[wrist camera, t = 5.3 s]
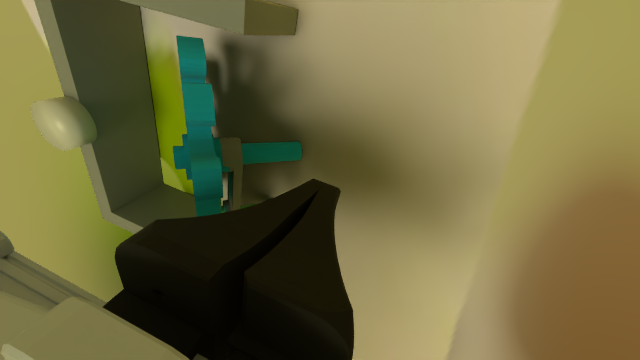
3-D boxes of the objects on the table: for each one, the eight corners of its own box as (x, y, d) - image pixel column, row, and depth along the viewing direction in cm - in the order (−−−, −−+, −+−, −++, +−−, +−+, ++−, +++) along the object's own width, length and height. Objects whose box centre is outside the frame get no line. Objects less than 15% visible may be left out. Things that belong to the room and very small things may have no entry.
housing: (267, 238, 19) (219, 298, 15) (147, 186, 21) (74, 225, 17) (297, 9, 11) (219, -7, 7) (107, -38, 13) (-43, -72, 9)
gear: (157, -3, 12) (151, 124, 5) (285, 19, 14) (383, 122, 8) (183, 178, 19) (193, 322, 13) (265, 171, 21) (307, 288, 15)
